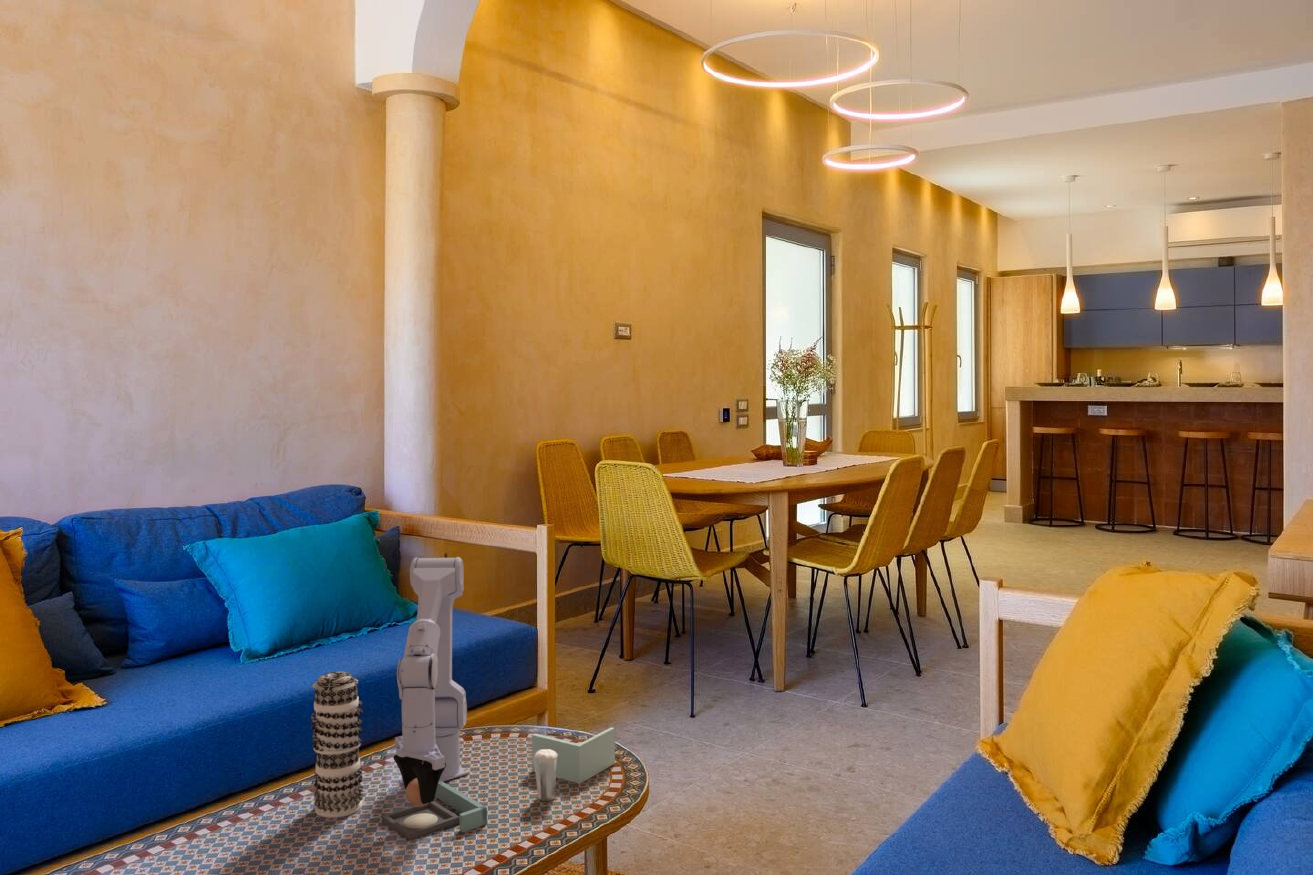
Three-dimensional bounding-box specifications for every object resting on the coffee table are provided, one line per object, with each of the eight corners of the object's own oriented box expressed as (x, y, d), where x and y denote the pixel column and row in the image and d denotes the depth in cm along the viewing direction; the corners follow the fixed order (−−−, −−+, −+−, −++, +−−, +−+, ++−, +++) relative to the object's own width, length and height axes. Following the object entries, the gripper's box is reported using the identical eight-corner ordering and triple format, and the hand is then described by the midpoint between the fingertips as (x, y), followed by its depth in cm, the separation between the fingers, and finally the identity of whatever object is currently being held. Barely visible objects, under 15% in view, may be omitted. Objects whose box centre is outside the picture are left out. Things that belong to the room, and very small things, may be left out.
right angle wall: (614, 763, 204) (614, 727, 204) (579, 783, 194) (579, 746, 194) (568, 752, 211) (568, 717, 210) (532, 771, 201) (531, 734, 200)
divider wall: (415, 802, 186) (414, 786, 186) (438, 794, 189) (438, 779, 189) (462, 832, 173) (462, 815, 173) (487, 823, 177) (486, 807, 177)
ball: (400, 805, 177) (400, 777, 177) (426, 797, 181) (425, 770, 180) (414, 813, 174) (413, 786, 173) (439, 805, 177) (439, 778, 177)
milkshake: (558, 804, 185) (557, 751, 184) (531, 801, 186) (530, 749, 185) (565, 794, 189) (564, 742, 189) (538, 792, 190) (537, 741, 190)
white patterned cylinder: (374, 806, 184) (371, 674, 183) (329, 823, 177) (325, 685, 176) (348, 792, 190) (345, 664, 189) (303, 808, 184) (300, 675, 182)
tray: (381, 821, 178) (381, 815, 178) (431, 805, 184) (431, 799, 184) (408, 840, 170) (408, 834, 170) (459, 823, 177) (459, 816, 177)
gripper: (378, 717, 179) (380, 791, 180) (418, 738, 168) (419, 816, 169) (414, 708, 184) (415, 780, 185) (454, 728, 173) (456, 804, 174)
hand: (420, 797), depth 177 cm, fingers closed on ball, 5 cm apart
